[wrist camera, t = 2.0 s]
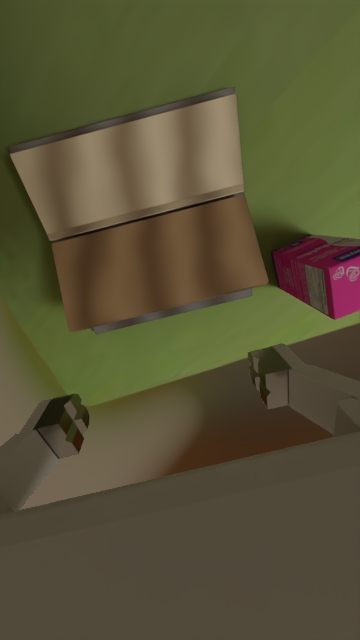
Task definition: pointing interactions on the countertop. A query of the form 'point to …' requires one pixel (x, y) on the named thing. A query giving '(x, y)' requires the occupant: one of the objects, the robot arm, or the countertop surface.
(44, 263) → the countertop surface
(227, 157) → the floor board
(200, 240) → the walnut plank
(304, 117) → the countertop surface
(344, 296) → the supplement box
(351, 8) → the countertop surface
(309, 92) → the countertop surface
